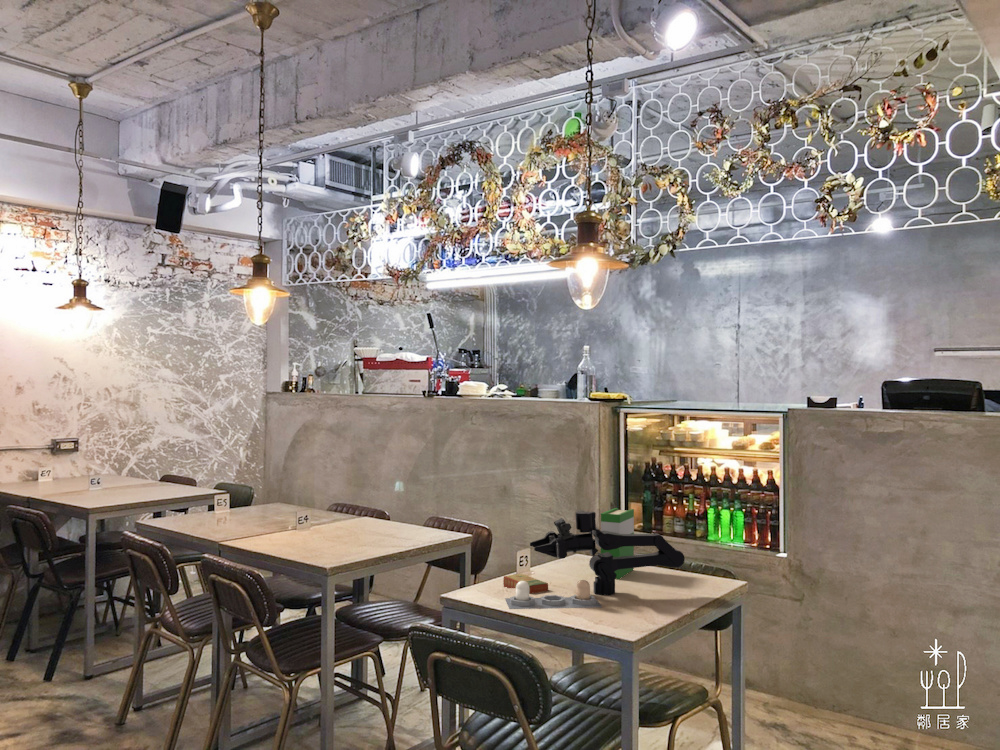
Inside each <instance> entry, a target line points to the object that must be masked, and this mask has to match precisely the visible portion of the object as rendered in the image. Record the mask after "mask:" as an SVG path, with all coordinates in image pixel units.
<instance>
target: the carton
mask: <svg viewBox="0 0 1000 750" xmlns="http://www.w3.org/2000/svg"><path fill="white" fill-rule="evenodd" d="M519 581H526V582H527V583H528V584H529V595H530V594H536V593H537V594H538V593H543V592H547V591H549V584H548V582H545V581H543V580H540V579H537V578H534V577H531V576H529V575H526V574H523V573H519V574H518V573H517V574H516V573H515V574H511V575H509V574H508V575H504V576H503V584H502V585H503V588H505V587H507V588H506V589H515V590H516V585H517V583H518V582H519Z"/></svg>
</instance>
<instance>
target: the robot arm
mask: <svg viewBox="0 0 1000 750" xmlns="http://www.w3.org/2000/svg"><path fill="white" fill-rule="evenodd" d="M596 516H597V514H596V512H595V511H585V510H580V511H576V512H575V526H576V527H575V529H576V530H579V533H577V534H574V533H573V532H570V531H571V529H572V526H571V524H570V523H569V522H566V520H565V519H564V518H559V519H557V520H555V521H553V524H554V526H555V527H556V529H557V532H558V533H556V532H555V531H547V532H546V533H545V535H544V537H542V538H540V539H537V540H535V541H531V542H530V543H529V546H530V547H533V549H534V551H535V552H538V553H541V554H544V555H548V556H550V557H553V558H556V559H558V560H561V559H565V558H567V556H568V553H573V554H576V553H577V552H584V551H589V553H590V555H591V558H590V559H589V564H588V566H589V568H590V569H591V570H592V571H593V572H594V574H595V578H594V580H595V581H593V594H594V595H598V596H613V595H616V580H617V579H616V576H617V574H616V573H615V571H617V570H619V569H628V568H634V569H635V568H636V569H637V568H645V567H654V566H660V567H661V566H662V567H666V568H680V567H682V566H683V564H684V563H685V555H684V553H683V552H682V551H680V550H678V549H677V548H675V547H673V546H672V545H671V544H670V543H669V542H668V541H667V540H666V539H665V538H664V536H663V535H661V534H659V533H656V532H654V533H634V534H618V533H614V532H609V531H601V529H600V528H598V527H597V523H596ZM596 545H597V546H598V547H599V548H600V549H601V548H602V549H603V550H612V549H617V548H620V547H623V546H634V547H655V548H656V549H657V550H658V551H656V552H651V553H650V552H649V553H643V554H634V555H631V556H621V557H613V555H612V554H610V553H609V552H606V553H601V552H600V553H599V552H598V551H599V549H597V548H596Z"/></svg>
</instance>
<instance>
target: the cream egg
mask: <svg viewBox="0 0 1000 750" xmlns="http://www.w3.org/2000/svg"><path fill="white" fill-rule="evenodd" d="M515 596H516V600H518V601H528V600H529V596H530V594H529V584H528V583H527V582H526V581H519V582H518V583H517V585H516V589H515Z"/></svg>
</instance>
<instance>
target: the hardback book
mask: <svg viewBox="0 0 1000 750" xmlns="http://www.w3.org/2000/svg"><path fill="white" fill-rule="evenodd" d="M634 526H635V509H634V508H631V509H628V510H627V509H626V510H625V509H624V510H623V509H619V507H615V508H612V509H609V510H606V511H604V512H602V513H600V531H609V532H614V533H618V534H635V528H634ZM634 548H635V546H623V547H620V548H617V549H612V550H603V549H602V548H600V553H606V552H609V553H610V554H612V555H613V557H621V556H631V555H635V554H634V550H635V549H634ZM633 569H635V568H628V569H619V570H617V571H615V573H616V574H617V576H616V578H617V579H616V580H621V579H622V578H621V577H623V576H624V575H626V574H627V573H629V572H630V571H632V570H633ZM633 571H634V570H633ZM633 571H632V572H633ZM630 573H631V572H630ZM630 573H629V574H630ZM627 575H628V574H627ZM627 575H626V576H627ZM624 577H625V576H624ZM624 577H623V578H624ZM620 578H621V579H620Z"/></svg>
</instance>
